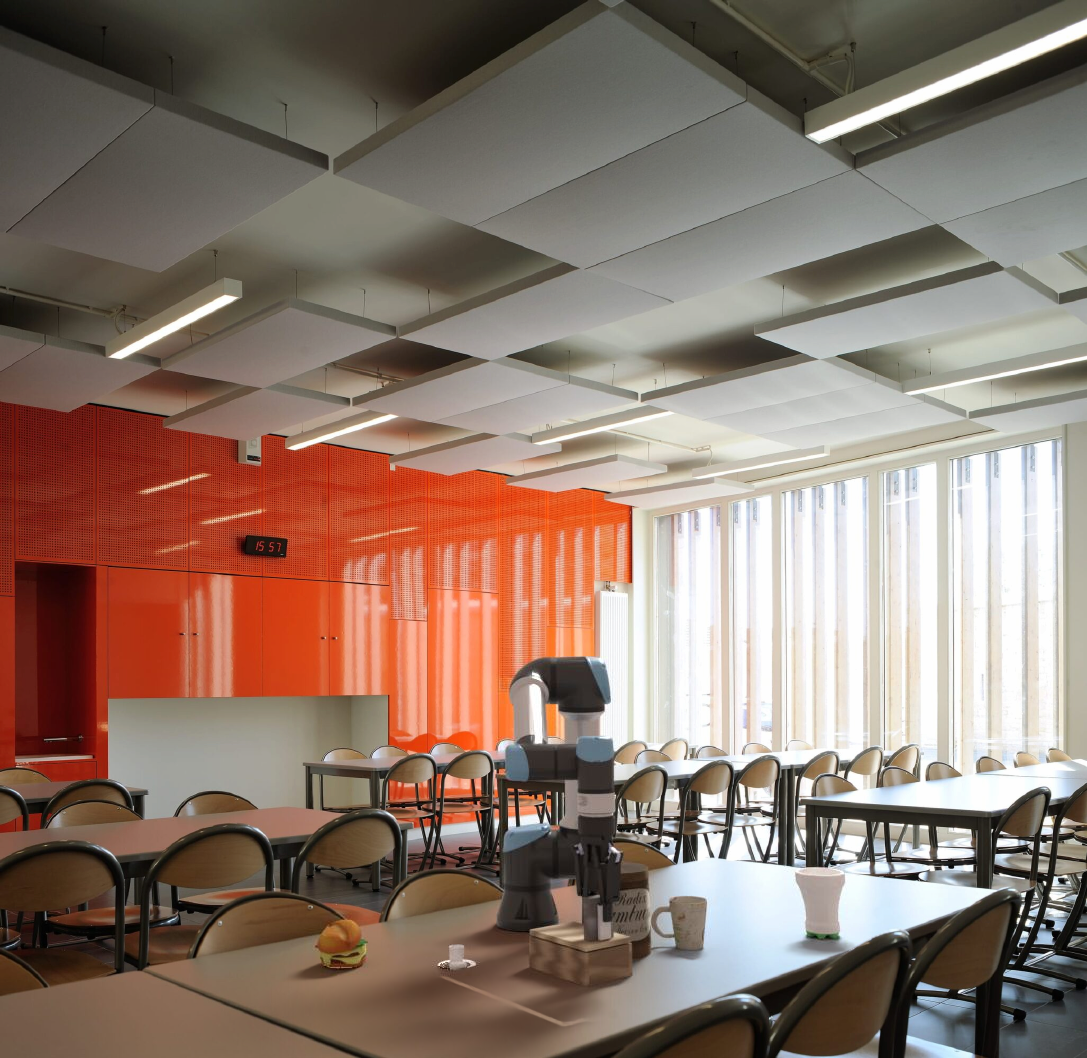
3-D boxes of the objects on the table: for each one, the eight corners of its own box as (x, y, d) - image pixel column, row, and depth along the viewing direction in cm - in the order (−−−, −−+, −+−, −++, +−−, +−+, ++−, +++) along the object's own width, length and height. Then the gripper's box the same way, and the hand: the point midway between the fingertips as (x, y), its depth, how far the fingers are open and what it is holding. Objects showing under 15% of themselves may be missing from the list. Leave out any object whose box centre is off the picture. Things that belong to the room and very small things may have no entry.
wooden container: (605, 967, 209) (602, 855, 213) (570, 951, 222) (568, 846, 225) (665, 957, 216) (661, 850, 219) (627, 942, 229) (625, 841, 232)
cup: (794, 939, 230) (791, 874, 232) (801, 928, 240) (798, 866, 242) (845, 943, 226) (842, 876, 228) (850, 932, 236) (847, 868, 238)
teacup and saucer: (464, 974, 206) (464, 953, 207) (429, 971, 209) (429, 950, 209) (482, 963, 214) (482, 943, 215) (447, 960, 217) (448, 940, 218)
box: (529, 969, 207) (529, 936, 208) (575, 960, 214) (574, 927, 216) (585, 989, 193) (585, 953, 194) (632, 978, 200) (631, 943, 201)
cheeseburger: (378, 959, 217) (374, 913, 216) (353, 985, 207) (349, 937, 206) (336, 954, 220) (332, 910, 219) (310, 980, 210) (305, 933, 209)
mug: (707, 952, 220) (706, 904, 221) (649, 950, 222) (648, 902, 224) (709, 943, 228) (707, 896, 229) (653, 941, 230) (652, 894, 232)
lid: (529, 934, 208) (529, 889, 210) (573, 926, 215) (573, 882, 217) (586, 951, 194) (585, 902, 196) (631, 942, 201) (630, 894, 203)
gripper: (557, 812, 208) (558, 933, 204) (608, 819, 196) (611, 948, 192) (585, 809, 213) (587, 927, 209) (637, 816, 200) (640, 941, 196)
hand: (598, 937), depth 200 cm, fingers closed on lid, 3 cm apart
